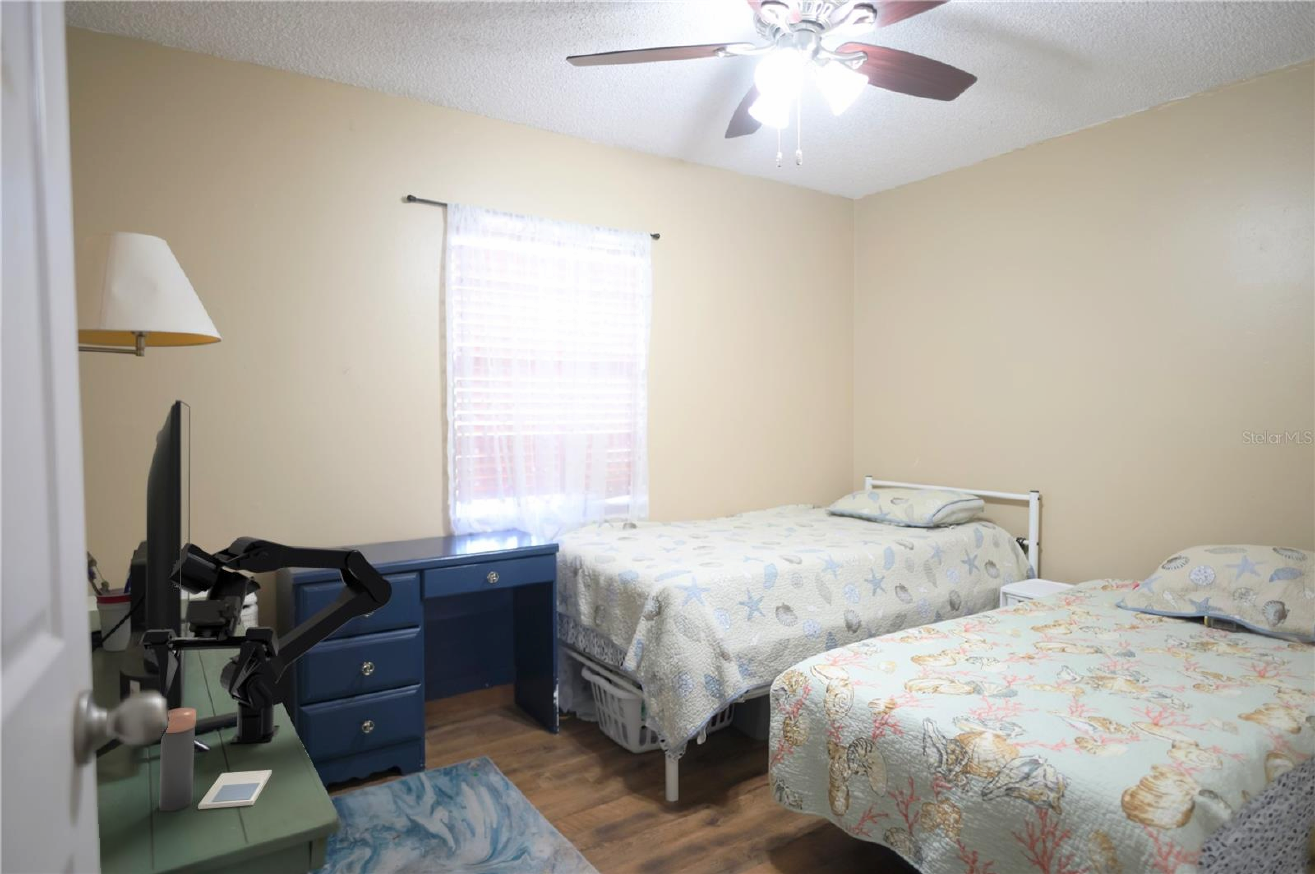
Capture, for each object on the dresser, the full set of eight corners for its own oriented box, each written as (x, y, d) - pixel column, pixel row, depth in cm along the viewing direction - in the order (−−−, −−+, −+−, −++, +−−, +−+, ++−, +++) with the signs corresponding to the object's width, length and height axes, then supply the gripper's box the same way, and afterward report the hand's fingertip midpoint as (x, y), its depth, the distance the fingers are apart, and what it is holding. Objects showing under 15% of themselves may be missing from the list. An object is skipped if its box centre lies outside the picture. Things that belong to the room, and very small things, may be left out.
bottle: (165, 798, 108) (168, 708, 108) (197, 796, 109) (200, 707, 109) (153, 813, 104) (156, 719, 104) (186, 810, 105) (189, 717, 105)
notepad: (221, 777, 115) (221, 772, 115) (271, 773, 117) (271, 769, 117) (198, 809, 105) (198, 804, 105) (252, 805, 107) (253, 800, 107)
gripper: (145, 578, 117) (109, 671, 106) (276, 577, 121) (253, 666, 110) (165, 616, 124) (133, 707, 114) (287, 614, 128) (267, 700, 118)
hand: (196, 694), depth 114 cm, fingers open, 9 cm apart
